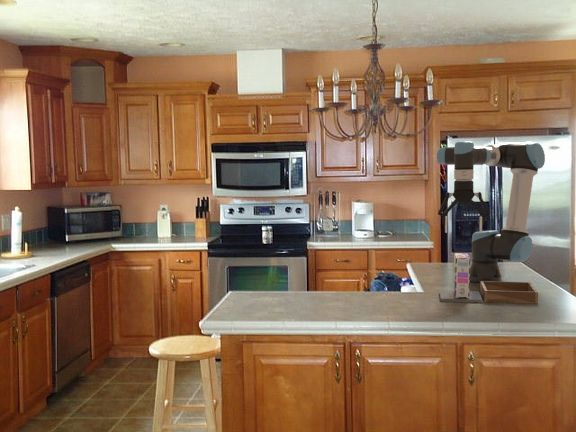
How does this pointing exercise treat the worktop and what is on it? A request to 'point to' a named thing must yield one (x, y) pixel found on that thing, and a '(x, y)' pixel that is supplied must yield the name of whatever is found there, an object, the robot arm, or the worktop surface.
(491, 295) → the crate
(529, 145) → the robot arm
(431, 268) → the worktop surface
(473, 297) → the plate
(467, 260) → the candy box
